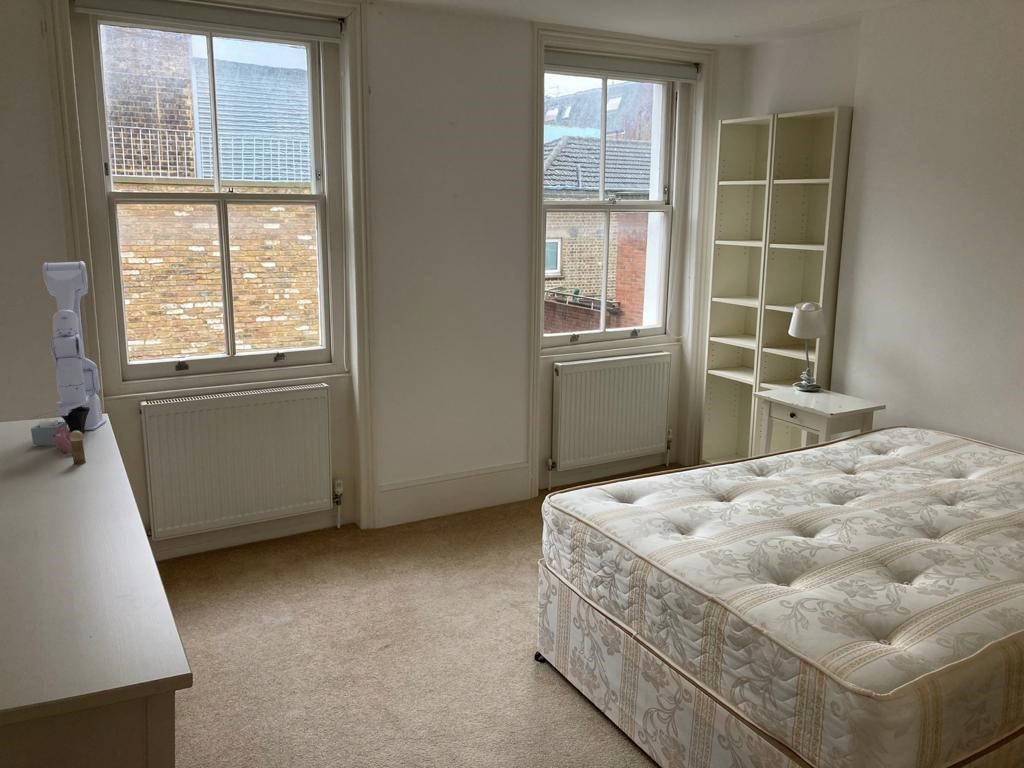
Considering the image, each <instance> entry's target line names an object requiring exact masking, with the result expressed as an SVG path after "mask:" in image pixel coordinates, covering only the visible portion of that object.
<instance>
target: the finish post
mask: <svg viewBox="0 0 1024 768" xmlns="http://www.w3.org/2000/svg"><path fill="white" fill-rule="evenodd" d="M70 433H71V434H70V436H69V438H70V440H71V446H72V453H73V454H72V459H73V461H72V462H73V465H82V463H83V464H85V463H86V461H87V460H86V455H85V447H84V436H83V434H82V433H81V432H80V431H73V432H70Z"/></svg>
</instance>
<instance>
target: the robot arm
mask: <svg viewBox="0 0 1024 768" xmlns="http://www.w3.org/2000/svg"><path fill="white" fill-rule="evenodd" d="M42 276H43V282H44V284H45V287H46V289H47V290H46V291H47V292H49V295H50V296H52V297H55V301H56V307H57V311H56V312H55V313H54V314H53V316H52V339H50V353H51V357H52V358H53V359H52V360H53V365H54V368H55V371H56V375H55V382H56V389H57V393H58V394H59V399H60V400H59V401H56V402H55V406H58V407H57V415H58V417H61V418H62V419H63V420H64V422H66V423H67V429H68V431H69V432H70V433H71V432H73V431H80V432H81V433H82V434H83V437H84V436H85V431H93V430H96V429H97V428H99V427H100V426H102V425H103V424H105V423H106V422H107V419H103V411H102V404H101V398H100V397H99V395H98V394H97V393H99V391H100V390H101V385H100V374H99V371H98V364H96V363H95V362H94V361H92V360H91V359H89V358H87V357H86V356H85V347H84V345H85V343H84V337H83V336H84V335H83V326H82V316H81V300H82V297H83V296H85V295H87V294H88V292H89V291H88V290H89V283H88V271H87V266H86V262H84V261H83V260H80V261H68V262H67V261H65V262H44V264H42Z"/></svg>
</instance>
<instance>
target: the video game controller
mask: <svg viewBox="0 0 1024 768" xmlns="http://www.w3.org/2000/svg"><path fill="white" fill-rule="evenodd" d="M70 434H71V432H70V431H67V430H66V429H63V427H61V428H57V429H55V430H53V431H52V435H53V437H52V441H53V442H54V444H55V445H54V446H55V447H57V448H58V449H59V450H60V452H62V453H64V454H67V453H68V454H71V455H73V453H72V446H71V440H70V438H69V436H70Z"/></svg>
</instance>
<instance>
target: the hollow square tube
mask: <svg viewBox="0 0 1024 768" xmlns="http://www.w3.org/2000/svg"><path fill="white" fill-rule="evenodd" d="M61 427H63V429H66V430H67V431H68V429H67V427H68V425H67V423H66V422H65V421H58V425H57V426H55V427H40V424H39V423H38V424H36V425H35V426H32V427H31V428H30V431H31V438H32V446H33V445H46V446H56V445H55V444H54V442H53V441H52V437H53V435H52V431H53V430H55V429H57V428H61Z"/></svg>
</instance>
